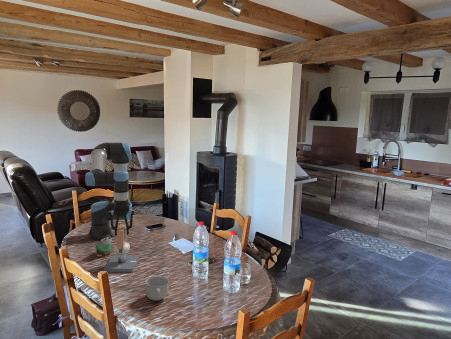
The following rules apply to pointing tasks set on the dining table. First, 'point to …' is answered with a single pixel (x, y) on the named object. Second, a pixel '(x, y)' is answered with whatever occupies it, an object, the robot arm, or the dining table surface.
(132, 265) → the post base
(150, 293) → the teacup
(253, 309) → the dining table surface
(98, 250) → the food container
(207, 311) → the dining table surface
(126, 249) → the brown box
